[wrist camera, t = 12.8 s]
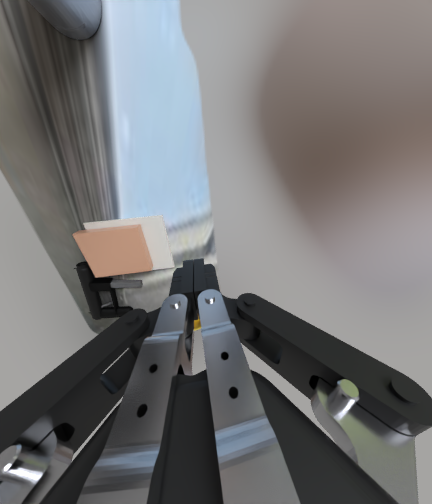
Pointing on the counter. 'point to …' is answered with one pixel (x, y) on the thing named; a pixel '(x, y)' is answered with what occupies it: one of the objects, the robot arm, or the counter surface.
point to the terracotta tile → (115, 250)
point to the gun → (103, 284)
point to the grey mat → (146, 237)
